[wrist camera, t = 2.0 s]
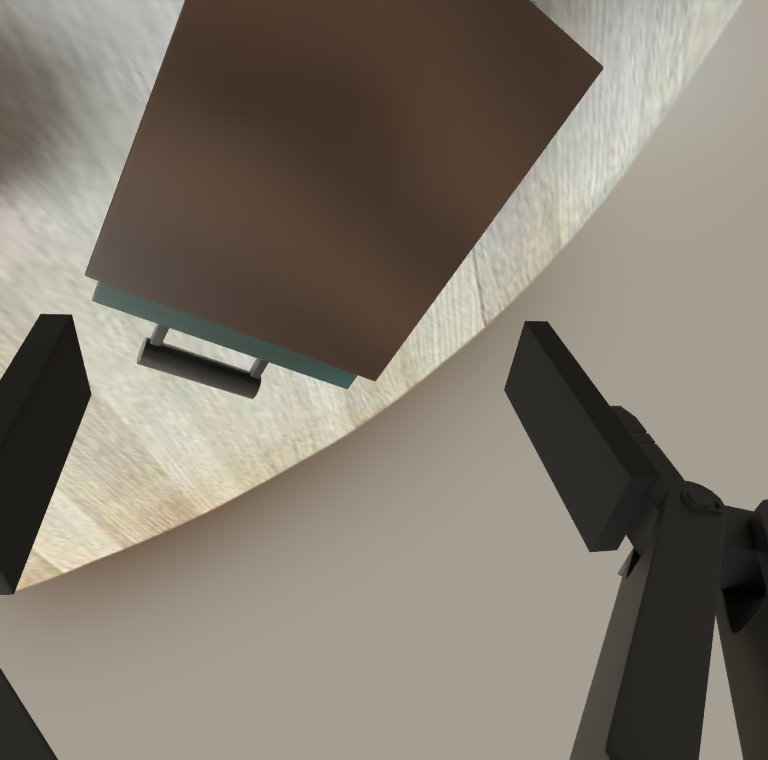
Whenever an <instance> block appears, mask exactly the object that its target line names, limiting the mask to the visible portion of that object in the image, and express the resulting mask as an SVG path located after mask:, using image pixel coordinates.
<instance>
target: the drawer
mask: <svg viewBox="0 0 768 760" xmlns="http://www.w3.org/2000/svg"><path fill="white" fill-rule="evenodd" d="M92 301H94V302H97V303H100V304H102V305H105V306H108V307H111V308H114V309H117V310H120V311H123V312H126V313H128V314H131V315H134V316H137V317H140V318H143V319H146V320H149V321H152V322H154V323H157V325H156V327H155V329H154V332H153V334H152V336H151V338H148V337H146V338H145V340H144V341H143V344H142V346H141V349H140V351H139V355H138V358H137V364H140V365H143V366H146V367H149V368H153V369H156V370H159V371H162V372H166V373H169V374H172V375H175V376H179V377H182V378H185V379H188V380H192V381H195V382H198V383H201V384H205V385H208V386H211V387H214V388H218V389H221V390H224V391H227V392H231V393H234V394H237V395H240V396H244V397H247V398H250V399H253V398H254V397H255V396H256V395H257V393H258V391H259V388H260V384H261V374H262V373H263V371H264V369H265V368H266V366H267V364H268V363H269V362H270V363H273V364H276V365H279V366H282V367H284V368H287V369H290V370H293V371H296V372H299V373H302V374H305V375H308V376H310V377H313V378H316V379H319V380H322V381H325V382H328V383H331V384H334V385H336V386H339V387H342V388H345V389H348V388H349V387H350V385H351V384H352V382H353V381H354V379H355V378H356V377H357V375H356V374H353V373H351V372H348V371H345V370H342V369H340V368H337V367H334V366H331V365H329V364H326V363H323V362H320V361H318V360H315V359H312V358H309V357H307V356H304V355H301V354H298V353H296V352H293V351H290V350H287V349H285V348H282V347H279V346H276V345H274V344H271V343H268V342H265V341H263V340H260V339H257V338H254V337H252V336H249V335H246V334H244V333H241V332H238V331H235V330H233V329H230V328H227V327H224V326H222V325H219V324H216V323H213V322H211V321H208V320H205V319H202V318H200V317H197V316H194V315H191V314H189V313H186V312H183V311H180V310H178V309H175V308H172V307H169V306H167V305H164V304H161V303H158V302H156V301H153V300H150V299H147V298H145V297H142V296H139V295H136V294H134V293H131V292H128V291H125V290H123V289H120V288H117V287H114V286H112V285H109V284H106V283H103V282H101V281H98V283H97V286H96V289H95V292H94V295H93V298H92ZM169 328H172V329H175V330H178V331H180V332H183V333H186V334H189V335H192V336H195V337H198V338H201V339H204V340H206V341H209V342H212V343H215V344H218V345H221V346H224V347H227V348H230V349H232V350H235V351H238V352H241V353H244V354H247V355H250V356H253V357H256V358H257V359H256V361H255V363H254V364H253V366H252V368H251V370H250V371H247V370H244V369H241V368H238V367H235V366H232V365H229V364H226V363H223V362H220V361H217V360H214V359H211V358H208V357H205V356H202V355H199V354H196V353H193V352H190V351H187V350H184V349H181V348H178V347H175V346H172V345H169V344H166V343H163V340H164V338H165V336H166V334H167V332H168V330H169Z"/></svg>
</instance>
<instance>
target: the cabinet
mask: <svg viewBox="0 0 768 760" xmlns="http://www.w3.org/2000/svg"><path fill="white" fill-rule="evenodd" d="M602 70H603V66H602V65H601V64H600V63H599V62H598V61H596V60H595V59H594V58H593V57H592V56H591V55H590V54H589V53H588V52H586V51H585V50H584V49H583V48H582V47H581V46H580V45H579V44H578V43H576V42H575V41H574V40H573V39H572V38H571V37H570V36H569V35H568V34H566V33H565V32H564V31H563V30H562V29H561V28H560V27H559V26H558V25H556V24H555V23H554V22H553V21H552V20H551V19H550V18H549V17H548V16H546V15H545V14H544V13H543V12H542V11H541V10H540V9H539V8H538V7H536V6H535V5H534V4H533V3H532V2H531V1H530V0H185V2H184V4H183V7H182V10H181V13H180V15H179V18H178V21H177V24H176V26H175V29H174V32H173V35H172V37H171V40H170V43H169V46H168V48H167V51H166V54H165V56H164V59H163V62H162V65H161V67H160V70H159V73H158V76H157V78H156V81H155V84H154V87H153V89H152V92H151V95H150V98H149V100H148V103H147V106H146V109H145V111H144V114H143V117H142V119H141V122H140V125H139V128H138V130H137V133H136V136H135V139H134V141H133V144H132V147H131V150H130V152H129V155H128V158H127V161H126V163H125V166H124V169H123V171H122V174H121V177H120V180H119V182H118V185H117V188H116V191H115V193H114V196H113V199H112V202H111V204H110V207H109V210H108V213H107V215H106V218H105V221H104V223H103V226H102V229H101V232H100V234H99V237H98V240H97V243H96V245H95V248H94V251H93V254H92V256H91V259H90V262H89V265H88V267H87V270H86V273H85V276H87V277H90V278H92V279H95V280H98V281H101V282H103V283H106V284H109V285H112V286H114V287H117V288H120V289H123V290H125V291H128V292H131V293H134V294H136V295H139V296H142V297H145V298H147V299H150V300H153V301H156V302H158V303H161V304H164V305H167V306H169V307H172V308H175V309H178V310H180V311H183V312H186V313H189V314H191V315H194V316H197V317H200V318H202V319H205V320H208V321H211V322H213V323H216V324H219V325H222V326H224V327H227V328H230V329H233V330H235V331H238V332H241V333H244V334H246V335H249V336H252V337H254V338H257V339H260V340H263V341H265V342H268V343H271V344H274V345H276V346H279V347H282V348H285V349H287V350H290V351H293V352H296V353H298V354H301V355H304V356H307V357H309V358H312V359H315V360H318V361H320V362H323V363H326V364H329V365H331V366H334V367H337V368H340V369H342V370H345V371H348V372H351V373H353V374H356V375H359V376H362V377H364V378H367V379H370V380H373V381H376V380H377V379H378V377H379V376H380V374H381V373H382V372H383V370H384V369H385V368H386V366H387V365H388V363H389V362H390V361H391V359H392V358H393V357H394V355H395V354H396V352H397V351H398V350H399V348H400V347H401V346H402V344H403V343H404V341H405V340H406V339H407V337H408V336H409V335H410V333H411V332H412V330H413V329H414V328H415V326H416V325H417V324H418V322H419V321H420V319H421V318H422V317H423V315H424V314H425V313H426V311H427V310H428V308H429V307H430V306H431V304H432V303H433V302H434V300H435V299H436V297H437V296H438V295H439V293H440V292H441V291H442V289H443V288H444V287H445V285H446V284H447V282H448V281H449V280H450V278H451V277H452V276H453V274H454V273H455V271H456V270H457V269H458V267H459V266H460V265H461V263H462V262H463V260H464V259H465V258H466V256H467V255H468V254H469V252H470V251H471V249H472V248H473V247H474V245H475V244H476V243H477V241H478V240H479V238H480V237H481V236H482V234H483V233H484V232H485V230H486V229H487V227H488V226H489V225H490V223H491V222H492V221H493V219H494V218H495V216H496V215H497V214H498V212H499V211H500V210H501V208H502V207H503V205H504V204H505V203H506V201H507V200H508V199H509V197H510V196H511V194H512V193H513V192H514V190H515V189H516V188H517V186H518V185H519V184H520V182H521V181H522V179H523V178H524V177H525V175H526V174H527V173H528V171H529V170H530V168H531V167H532V166H533V164H534V163H535V162H536V160H537V159H538V157H539V156H540V155H541V153H542V152H543V151H544V149H545V148H546V146H547V145H548V144H549V142H550V141H551V140H552V138H553V137H554V135H555V134H556V133H557V131H558V130H559V129H560V127H561V126H562V124H563V123H564V122H565V120H566V119H567V118H568V116H569V115H570V113H571V112H572V111H573V109H574V108H575V107H576V105H577V104H578V102H579V101H580V100H581V98H582V97H583V96H584V94H585V93H586V91H587V90H588V89H589V87H590V86H591V85H592V83H593V82H594V81H595V79H596V78H597V76H598V75H599V74H600V72H601V71H602Z"/></svg>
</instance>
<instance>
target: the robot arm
mask: <svg viewBox="0 0 768 760" xmlns="http://www.w3.org/2000/svg"><path fill="white" fill-rule="evenodd" d="M504 391H505V392H506V394H507V396H508V398H509V400H510V402H511V404H512V406H513V407H514V410H515V411H516V413H517V415H518V417H519V419H520V421H521V423H522V425H523V427H524V429H525V430H526V432H527V434H528V436H529V438H530V440H531V442H532V444H533V446H534V447H535V449H536V451H537V453H538V455H539V457H540V459H541V461H542V463H543V464H544V466H545V468H546V470H547V472H548V474H549V476H550V478H551V480H552V482H553V483H554V485H555V487H556V489H557V491H558V493H559V495H560V497H561V499H562V500H563V502H564V504H565V506H566V508H567V510H568V512H569V514H570V516H571V518H572V519H573V521H574V523H575V525H576V527H577V529H578V531H579V533H580V535H581V536H582V538H583V540H584V542H585V544H586V546H587V548H588V550H589V552H598V551H611V550H617V549H618V548H619V546H620V544H621V542H622V540H623V539H624V537H625V535H627V537H628V539H629V540H630V542H631V543H632V545H633V547H634V548H633V549H632V551H631V553H630V554H629V556H628V558H627V559H626V561H625V563H624V564H623V566H622V567H621V569H620V571H619V573H618V574H619V575H621V576H622V575H623V577H622V580H621V584H620V587H619V590H618V594H617V598H616V601H615V605H614V608H613V611H612V615H611V618H610V622H609V625H608V628H607V632H606V635H605V639H604V642H603V646H602V649H601V653H600V656H599V660H598V663H597V666H596V670H595V674H594V677H593V680H592V684H591V687H590V691H589V694H588V697H587V701H586V704H585V708H584V711H583V715H582V718H581V722H580V725H579V729H578V732H577V736H576V739H575V742H574V746H573V749H572V753H571V756H570V760H699V752H700V743H701V735H702V726H703V718H704V709H705V700H706V692H707V683H708V674H709V666H710V657H711V649H712V640H713V631H714V622H715V614H716V619H717V624H718V629H719V635H720V640H721V645H722V650H723V656H724V661H725V666H726V671H727V676H728V681H729V687H730V692H731V697H732V703H733V708H734V713H735V718H736V723H737V729H738V734H739V739H740V744H741V750H742V754H743V760H768V500H763V501H762V502H761V503H760V504H759V506H758V507H757V508H756V509H755V511H748V510H744V509H739V508H735V507H730V506H725V505H724V504H723V502H722V501H721V499H720V498H719V497H718V496H717V495H716V494H714V493H713V492H712V491H711V490H709V489H707V488H705V487H704V486H702V485H700V484H696V483H693V482H690V481H685V480H684V479H683V477H682V476H681V475H680V474H679V472H678V471H677V470H676V468H675V467H674V466H673V465H672V463H671V462H670V461H669V459H668V458H667V457H666V455H665V454H664V453H663V452H662V450H661V449H660V448H659V446H657V444H655V441H654V440H653V439H652V437H651V436H650V435H649V434H647V433H646V430H645V428H644V427H643V426H642V424H641V423H640V422H639V421H638V419H637V418H636V417H635V416H633V415H632V414H631V413H629V412H628V411H626V410H625V409H624V408H623V407H621V406H609V404H608V403H607V402H606V400H605V399H604V398H603V396H602V395H601V393H600V392H599V391H598V389H597V388H596V387H595V385H594V384H593V383H592V381H591V380H590V379H589V377H588V376H587V374H586V373H585V372H584V370H583V369H582V368H581V366H580V365H579V364H578V362H577V361H576V360H575V358H574V357H573V355H572V354H571V353H570V352H569V350H568V349H567V347H566V346H565V345H564V343H563V342H562V341H561V339H560V338H559V336H558V335H557V334H556V332H555V331H554V330H553V328H552V327H551V326H550V324H549V323H548V322H547V321H545V322H544V321H525V323H524V326H523V329H522V333H521V336H520V339H519V343H518V346H517V349H516V352H515V356H514V359H513V363H512V366H511V369H510V373H509V376H508V379H507V382H506V386H505V389H504ZM90 397H91V390H90V386H89V382H88V378H87V374H86V370H85V366H84V362H83V358H82V354H81V350H80V346H79V342H78V338H77V334H76V330H75V326H74V321H73V317H72V315H68V314H40V316H39V318H38V319H37V321H36V322H35V324H34V326H33V327H32V329H31V331H30V332H29V334H28V336H27V337H26V339H25V341H24V342H23V344H22V345H21V347H20V349H19V350H18V352H17V354H16V355H15V357H14V359H13V360H12V362H11V364H10V365H9V367H8V368H7V370H6V372H5V373H4V375H3V377H2V378H1V380H0V595H10V594H14V593H15V590H16V587H17V585H18V582H19V580H20V577H21V575H22V572H23V569H24V567H25V564H26V562H27V559H28V557H29V554H30V551H31V549H32V546H33V544H34V541H35V539H36V536H37V533H38V531H39V528H40V526H41V523H42V521H43V518H44V515H45V513H46V510H47V508H48V505H49V503H50V500H51V497H52V495H53V492H54V490H55V487H56V485H57V482H58V479H59V477H60V474H61V472H62V469H63V467H64V464H65V461H66V459H67V456H68V454H69V451H70V449H71V446H72V443H73V441H74V438H75V436H76V433H77V430H78V428H79V425H80V423H81V420H82V418H83V415H84V412H85V410H86V407H87V405H88V402H89V400H90ZM0 760H58V759H57V758H56V756H55V754H54V752H53V751H52V749H51V748H50V746H49V745H48V743H47V741H46V740H45V738H44V737H43V735H42V733H41V732H40V730H39V729H38V727H37V726H36V724H35V723H34V721H33V719H32V718H31V716H30V715H29V713H28V711H27V710H26V708H25V707H24V705H23V703H22V702H21V701H20V699H19V697H18V696H17V694H16V692H15V691H14V689H13V688H12V686H11V684H10V683H9V681H8V680H7V678H6V677H5V675H4V673H3V672H2V670H1V669H0Z"/></svg>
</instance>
